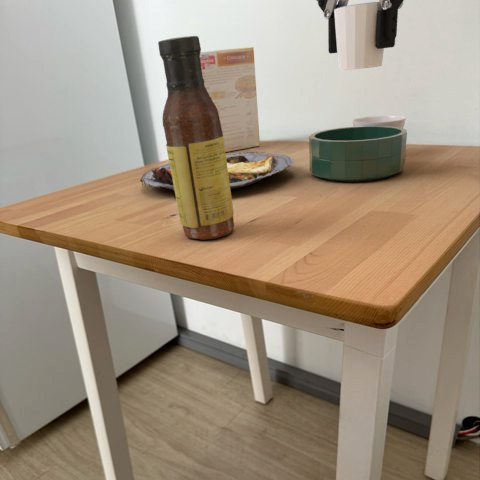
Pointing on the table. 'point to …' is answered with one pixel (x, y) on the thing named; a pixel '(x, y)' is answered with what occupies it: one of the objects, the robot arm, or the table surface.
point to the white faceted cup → (357, 36)
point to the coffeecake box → (233, 94)
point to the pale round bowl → (380, 121)
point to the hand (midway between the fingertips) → (360, 49)
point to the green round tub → (357, 153)
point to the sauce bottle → (195, 143)
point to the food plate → (230, 169)
